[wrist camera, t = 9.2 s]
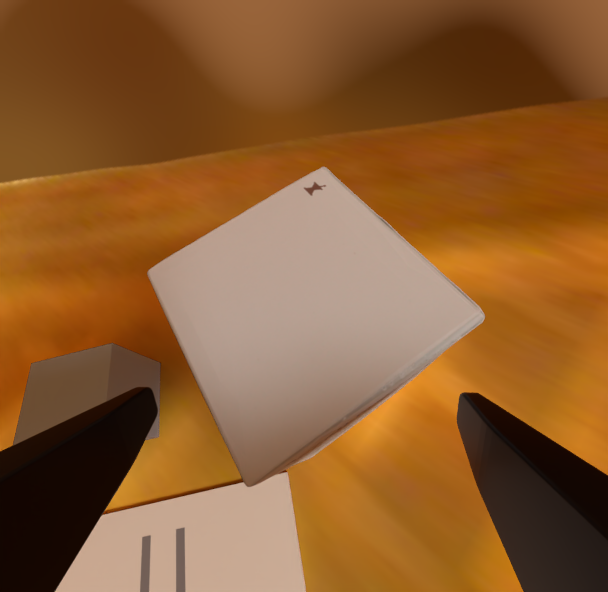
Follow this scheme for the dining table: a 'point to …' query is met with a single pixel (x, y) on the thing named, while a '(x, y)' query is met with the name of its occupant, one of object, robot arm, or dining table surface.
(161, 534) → the letter
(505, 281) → the dining table surface
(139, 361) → the cube
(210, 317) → the supplement box
